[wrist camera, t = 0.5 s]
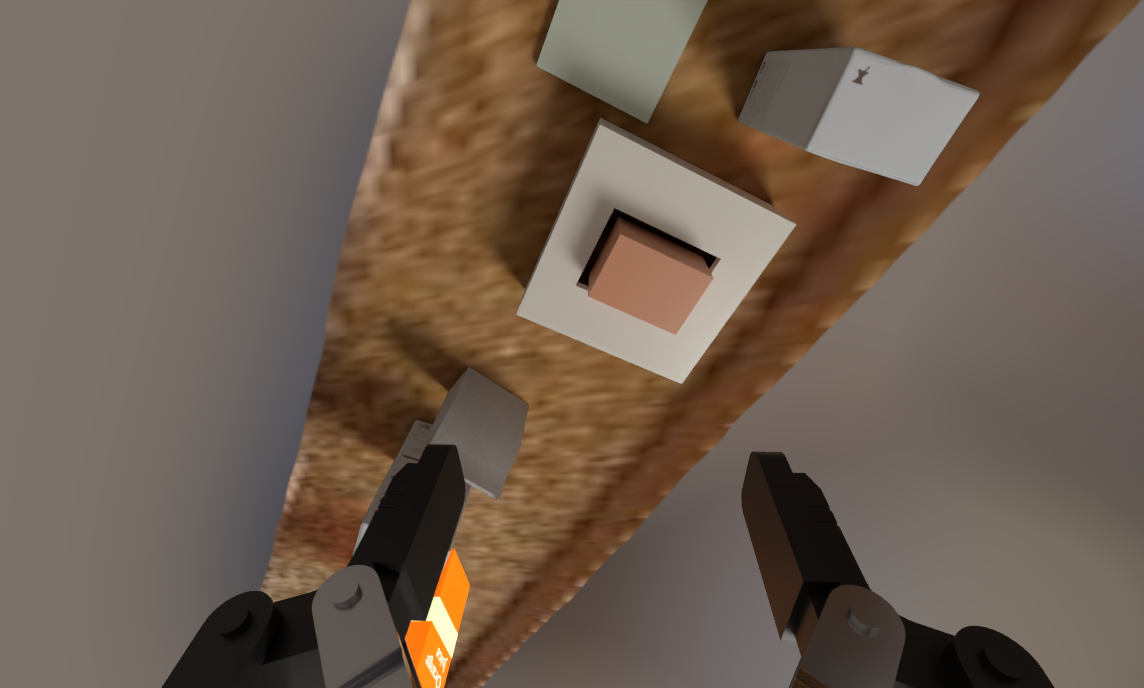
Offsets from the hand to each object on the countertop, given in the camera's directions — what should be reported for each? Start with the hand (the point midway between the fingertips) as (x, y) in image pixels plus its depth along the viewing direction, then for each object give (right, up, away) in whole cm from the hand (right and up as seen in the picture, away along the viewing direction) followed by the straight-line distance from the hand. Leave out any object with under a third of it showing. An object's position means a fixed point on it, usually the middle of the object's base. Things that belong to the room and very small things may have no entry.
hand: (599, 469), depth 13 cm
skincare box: (+14, +19, +18) cm, 29 cm away
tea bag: (-9, -2, +32) cm, 33 cm away
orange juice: (-19, -25, +46) cm, 55 cm away
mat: (+2, +23, +16) cm, 28 cm away
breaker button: (+4, +9, +20) cm, 23 cm away
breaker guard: (+5, +11, +23) cm, 26 cm away
